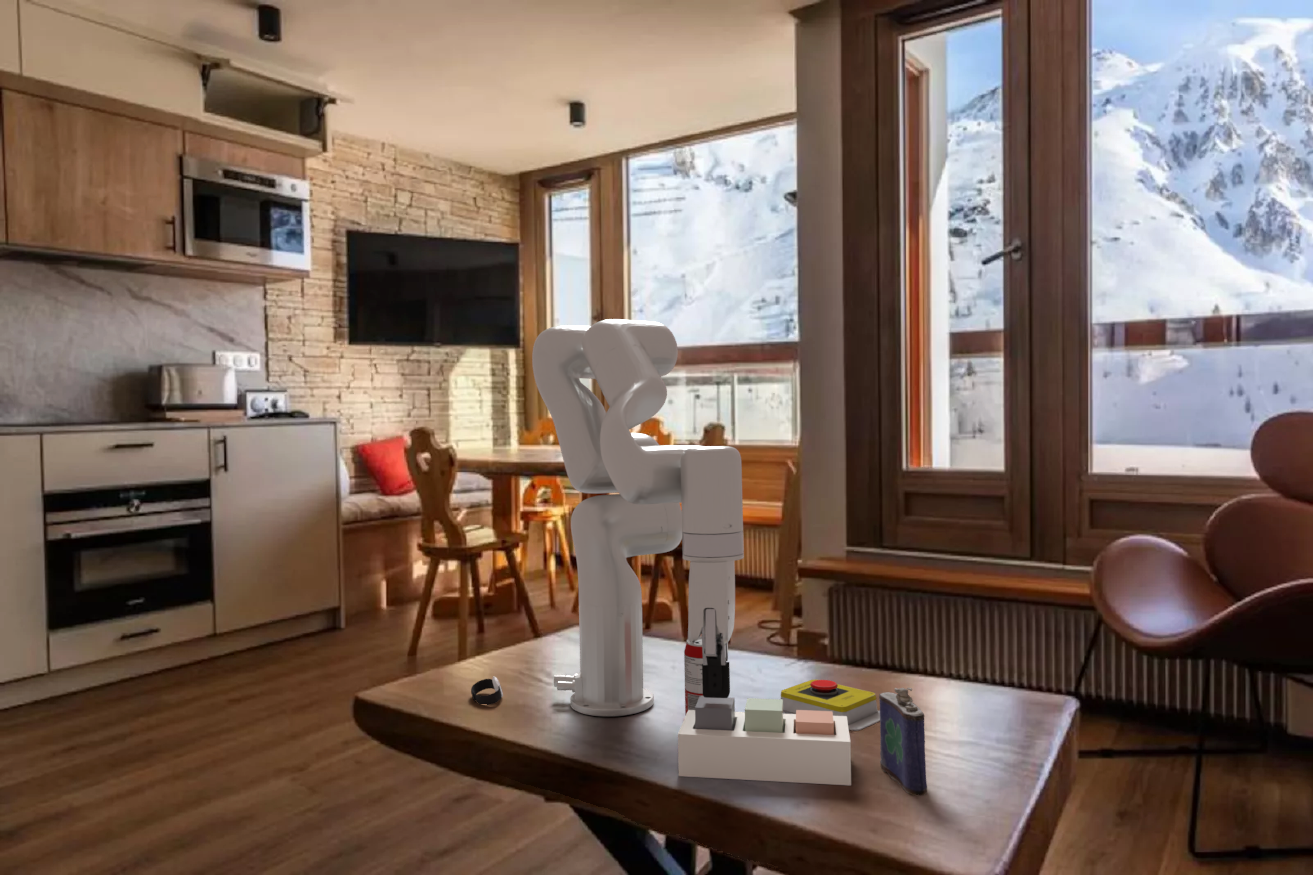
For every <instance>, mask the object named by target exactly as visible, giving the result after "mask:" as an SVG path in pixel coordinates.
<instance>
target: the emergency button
mask: <svg viewBox="0 0 1313 875" xmlns="http://www.w3.org/2000/svg"><path fill="white" fill-rule="evenodd" d="M780 699H783V713H785V712H786V713H787V714H796V710H812V711H832V712H833V716H847V721H848V728H849V731H856V732H857V731H861V730H863V729H865V728H869V726H872V725H875V724H876V723H880V709H879V710H878V702H877V695H876V693H875V692H872V691H869V690H864V689H861V688H860V689H859V688H856V687H851V686H847V685H843V684H838V683H837V682H835V681H833V680H829V679H817V678H816V679H811V680H807V681H805V682H802V683H799V684H796V685H792V686H791V687H787V688H784V689H782V690H781V691H780Z"/></svg>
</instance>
